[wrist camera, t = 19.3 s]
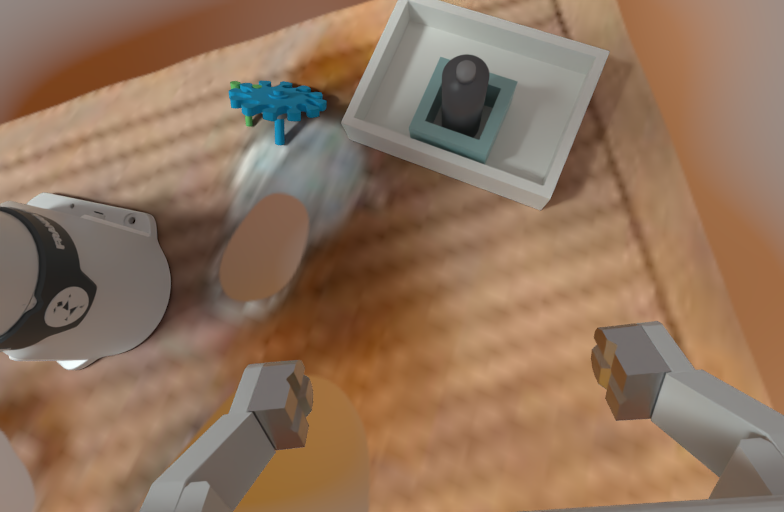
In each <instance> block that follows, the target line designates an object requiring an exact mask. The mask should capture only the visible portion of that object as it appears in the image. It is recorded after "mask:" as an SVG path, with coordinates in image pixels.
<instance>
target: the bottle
mask: <svg viewBox="0 0 784 512" xmlns="http://www.w3.org/2000/svg"><path fill="white" fill-rule="evenodd" d="M488 82H489V69H488V67H487V65H486V63H485V62H484V61H483V60H482V59H480V58H479V57H477V56H474V55H469V54H465V55H459V56H456V57H454V58H453V59H451V60H450V61H449V62H448V63H447V64H446V65H445V67H444V69H443V72H442V127H444V128H447V129H449V130H452V131H455V132H458V133H461V134H464V135H466V136H469V137H472V138H473V137H474V136H475V135H476V134H477V132H478V130H479V127H480V122H481V117H482V112H483V107H484V102H485V97H486V92H487V87H488Z"/></svg>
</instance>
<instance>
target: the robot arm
mask: <svg viewBox="0 0 784 512" xmlns="http://www.w3.org/2000/svg"><path fill="white" fill-rule="evenodd" d="M134 219H135V223H134V224H133V221H134ZM170 289H171V277H170V270H169V266H168V263H167V260H166V257H165V255H164V253H163V251H162V249H161V248H160V245H159V243H158V240H157V227H156V221H155V219H154V217H153V216H152V215H151V214H148V213H143V212H139V211H134V210H129V209H124V208H119V207H114V206H109V205H105V204H100V203H95V202H90V201H85V200H80V199H75V198H71V197H66V196H61V195H56V194H51V193H40V194H39V195H37V196H36V197H34V198H33V199H32V200H30V201H29V202H28V203H27V204H22V203H18V202H14V201H6V202H3V203H1V204H0V352H4V353H5V354H7V355H9V358H10V359H11V360H15V361H57V362H58V363H59V364H60V365H61V366H62V367H64V368H65V369H67V370H80V369H83V368H85V367H86V366H88V365H90V364H91V363H93V362H94V361H95V360H97V359H98V358H101V357H105V356H110V355H116V354H120V353H123V352H126V351H128V350H130V349H132V348H134V347H136V346H137V345H139V344H140V343H141V342H143V341H144V340H145V339H146V338H147V337H148V336H149V335H150V334H151V333H152V332H153V331H154V330H155V328H156V327H157V325H158V324H159V322H160V321H161V319H162V317H163V315H164V313H165V310H166V308H167V305H168V301H169V297H170ZM594 339H595V341H596V343H597V345H596V346H595V347H594V348H593V349H592V354H591V361H592V368H593V372H594V375H595V377H596V379H597V382H598V384H599V385H601V386H602V387H604V388H605V389H607V392H606V397H605V399H606V401H607V403H608V405H609V407H610V409H611V411H612V413H613V415H614V417H615V420H616V421H619V420H636V419H651V421H652V422H653V423H655V424H656V425H657V426H658V427H659V428H661V429H662V430H663V431H664V432H665V433H667V434H668V435H669V436H670V437H671V438H673V439H674V440H675V441H676V442H678V443H679V444H680V445H681V446H682V447H684V448H685V449H686V450H687V451H688V452H690V453H691V454H692V455H693V456H694V457H696V458H697V459H698V460H699V461H700V462H702V463H703V464H704V465H705V466H706V467H708V468H709V469H710V470H711V471H712V472H714V473H715V474H716V475H717V476H718V477H720V478H719V480H718V482H717V484H716V486H715V487H714V489H713V491H712V493H711V495H710V497H709V499H704V500H689V501H674V502H658V503H643V504H628V505H613V506H597V507H582V508H566V509H551V510H535V511H519V512H784V415H782V414H780V413H778V412H777V411H775V410H773V409H771V408H770V407H768V406H766V405H764V404H762V403H761V402H759V401H757V400H755V399H754V398H752V397H750V396H748V395H746V394H745V393H743V392H741V391H739V390H737V389H736V388H734V387H732V386H730V385H729V384H727V383H725V382H723V381H721V380H720V379H718V378H716V377H714V376H713V375H711V374H709V373H707V372H705V371H704V370H695V368H694V367H693V366H692V364H691V363H690V362H689V360H688V359H687V358H686V356H685V355H684V353H683V352H682V351H681V349H680V348H679V347H678V345H677V344H676V343H675V341H674V340H673V338H672V337H671V336H670V334H669V333H668V332H667V330H666V329H665V328H664V326H663V325H662V324H661V323H660V322H658V321H654V322H645V323H637V324H635V323H634V324H625V325H617V326H608V327H600V328H597V329H596V331H595V335H594ZM304 370H305V367H304V365H303V363H302V361H301V360H294V361H281V362H269V363H259V364H249V365H248V366H247V367H246V369H245V370H244V373H243V376H242V379H241V381H240V384H239V387H238V389H237V392H236V395H235V397H234V400H233V403H232V406H231V408H230V411H229V414H226V415H223V416H222V417H221V418H220V419H219V420H218V421H216V422H215V423H214V424H213V425H212V426H211V427H210V428H209V429H208V430H207V431H206V432H205V433H204V434H203V435H202V436H201V437H200V438H199V439H198V440H197V441H196V442H195V443H194V444H193V445H192V446H191V447H190V448H189V449H188V450H187V451H186V452H185V453H183V454H182V455H181V456H180V457H179V458H178V459H177V460H176V461H175V462H174V463H173V464H172V465H171V466H170V467H169V468H168V469H167V470H166V471H165V472H164V473H163V474H162V475H161V476H160V477H159V478H158V479H157V480H156V481H155V482H154V483H153V484H152V486H151V488H150V490H149V492H148V494H147V496H146V498H145V501H144V503H143V505H142V507H141V509H140V511H139V512H233V511H234V509H235V508H236V506H237V505H238V504H239V502H240V501H241V500H242V498H243V497H244V495H245V494H246V493H247V491H248V490H249V489H250V487H251V486H252V484H253V483H254V481H255V480H256V479H257V477H258V476H259V475H260V473H261V472H262V470H263V469H264V468H265V466H266V465H267V463H268V462H269V461H270V459H271V458H272V457H273V455H274V454H275V453H276V451H275V450H283V449H292V448H300V447H305V443H306V438H307V433H308V427H309V424H308V422H307V420H306V417H307V416H308V414H309V413H310V412H311V411H312V406H313V389H312V384H311V381H310V379H309V378H308V377H307V376H305V375H304Z"/></svg>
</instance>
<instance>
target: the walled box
mask: <svg viewBox="0 0 784 512" xmlns="http://www.w3.org/2000/svg"><path fill="white" fill-rule="evenodd" d="M609 52H610V51H607V50H604V49H601V48H597V47H594V46H591V45H587V44H584V43H580V42H577V41H574V40H570V39H567V38H564V37H560V36H557V35H554V34H550V33H547V32H543V31H540V30H537V29H533V28H530V27H527V26H523V25H520V24H517V23H513V22H510V21H506V20H503V19H500V18H496V17H493V16H490V15H486V14H483V13H480V12H476V11H473V10H469V9H466V8H463V7H459V6H456V5H453V4H449V3H446V2H443V1H439V0H398V1H397V4H396V6H395V8H394V10H393V12H392V14H391V16H390V19H389V21H388V23H387V25H386V27H385V29H384V32H383V34H382V36H381V38H380V40H379V42H378V44H377V47H376V49H375V51H374V53H373V55H372V57H371V59H370V62H369V64H368V66H367V68H366V70H365V72H364V74H363V77H362V79H361V81H360V83H359V85H358V87H357V89H356V92H355V94H354V96H353V98H352V100H351V102H350V105H349V107H348V109H347V111H346V113H345V115H344V117H343V120H342V122H341V124H342V126H343V128H344V130H345V132H346V133H347V135H348V137H349V139H350V140H352V141H355V142H358V143H360V144H363V145H366V146H369V147H371V148H374V149H377V150H379V151H382V152H385V153H387V154H390V155H393V156H395V157H398V158H401V159H403V160H406V161H409V162H412V163H414V164H417V165H420V166H422V167H425V168H428V169H430V170H433V171H436V172H438V173H441V174H444V175H446V176H449V177H452V178H455V179H457V180H460V181H463V182H465V183H468V184H471V185H473V186H476V187H479V188H481V189H484V190H487V191H489V192H492V193H495V194H497V195H500V196H503V197H506V198H508V199H511V200H514V201H516V202H519V203H522V204H524V205H527V206H530V207H532V208H535V209H538V210H540V211H541V209H542V208H543V207H544V206H545V205H546V204H547V203H548V201H549V200H550V199H551V196H552V194H553V191H554V189H555V186H556V184H557V181H558V179H559V176H560V174H561V171H562V169H563V167H564V164H565V162H566V159H567V157H568V154H569V152H570V149H571V147H572V144H573V142H574V139H575V137H576V134H577V132H578V129H579V127H580V124H581V122H582V119H583V117H584V114H585V112H586V109H587V107H588V104H589V102H590V99H591V97H592V95H593V92H594V90H595V87H596V85H597V82H598V80H599V77H600V75H601V72H602V70H603V67H604V65H605V62H606V60H607V57H608V55H609ZM465 54H469V55H474V56H477V57H479V58H480V59H482V60H483V61H484V62H485V63H486V65H487V67H488V69H489V82H488V87H487V92H486V97H485V102H484V107H483V112H482V117H481V122H480V127H479V130H478V132H477V134H476V135H475V136H474V137H473V138H472V137H469V136H466V135H464V134H461V133H458V132H455V131H452V130H449V129H447V128H444V127H442V72H443V69H444V67H445V65H446V64H447V63H448V62H449V61H450V60H451V59H453V58H454V57H456V56H459V55H465Z"/></svg>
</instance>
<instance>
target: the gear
mask: <svg viewBox="0 0 784 512" xmlns="http://www.w3.org/2000/svg"><path fill="white" fill-rule="evenodd" d="M230 84H231V90H229V98H230V100H231V108H242V113H243V114H244V115H245V119H246V126H253V123H252V116H254V115H256V114H259V113H261V114H263V119H265V120H269V121H275V144H277V145H284V144H285V138H284V119H285V118H287V120H288V121H301V111H304V112H306V116H307V117H309V118H314V117H318V116H319V111H324V110H325V109H326V105H327V101H326V100H323V99H322V93H321V92H311V88H309V87H308V86H300V87H297V88H292V83H289V82H284V81H283V82H280V85H278V86H275V87H271V82H270V81H259V85H252V84H251V83H243V84H241V83H240V82H237V81H232V82H230Z"/></svg>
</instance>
